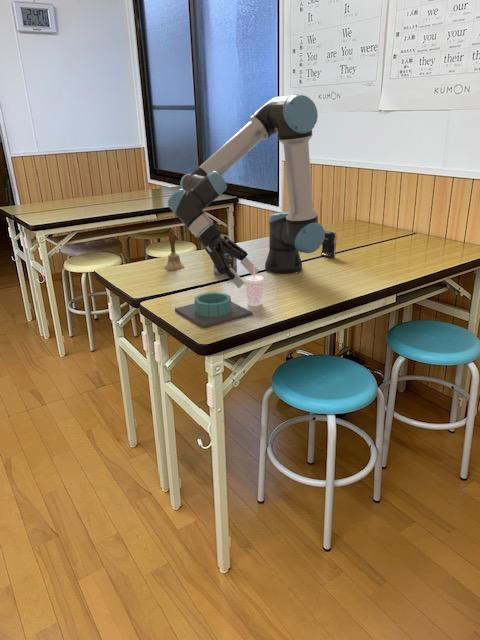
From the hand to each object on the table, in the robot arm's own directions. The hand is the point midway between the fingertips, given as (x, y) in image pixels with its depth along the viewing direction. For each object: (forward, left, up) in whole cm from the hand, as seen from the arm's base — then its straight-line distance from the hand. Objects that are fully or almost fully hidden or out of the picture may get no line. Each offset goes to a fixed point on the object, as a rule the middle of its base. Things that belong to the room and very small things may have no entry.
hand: (249, 279), depth 161 cm
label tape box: (+6, -36, -9) cm, 38 cm away
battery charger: (-40, -55, -9) cm, 68 cm away
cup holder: (+12, +7, -9) cm, 17 cm away
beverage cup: (-2, 0, -9) cm, 9 cm away
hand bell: (+27, -48, -9) cm, 56 cm away
